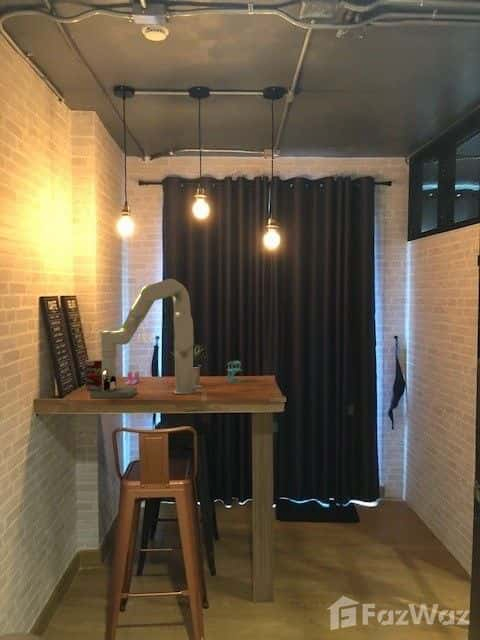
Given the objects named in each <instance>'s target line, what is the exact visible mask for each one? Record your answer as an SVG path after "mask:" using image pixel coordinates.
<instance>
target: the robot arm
mask: <svg viewBox="0 0 480 640" xmlns="http://www.w3.org/2000/svg"><path fill="white" fill-rule="evenodd" d="M169 297H171V298H172V301H173V330H174V340H173V346H174V349H173V350H174V383H175V384H174V387H175V388H174V389H172V394H174V395H175V394H176V395H190V394H195V393H196V392H197V390H202V385H200V384H196V383H195V382H194V350H193V349H194V347H193V346H194V340H195V339H194V338H195V337H194V321H193V317H192V315H191V302H190V301H191V300H190V294H189V292H188V290H187V289H186V287H185V286H184V285H183V284H182V283H181V282H179V281H177V280H176V279H173V278H167V279H165V280H161V281H157V282H155V283H150V284H147V285H144V286H143V287H142V288H141V289H140V292H139V295H138V296H137V298H136V299H135V301H134V303H133V304H132V306H131V308H130V309H129V311H128V315H127V318H125V321H124V322H123V325H122V326H121V328H120V329H119V330H115V329H114V330H113V329H112V330H111V329H109V330H107V329H106V330H102V331H101V333H100V340H101V341H100V342H101V343H100V344H101V347H100V349H101V360H102V372H101V375H102V386H103V387H104V390H109V389H110V382H109V381H115V387H117V359H116V358H117V356H118V355H117V354H118V353H117V345H123V346H124V345H128V344H129V343H130V342H131V340H132V339H133V337H134V335H135V334H136V332H137V330H138V328H139V327H140V325H141V323H142V322H143V321H144V320H145V318H146V317H147V315H148V313H149V311H150V309H151V308H152V306H153V304H154V303H155V301H159V300H161V299H165V298H169Z"/></svg>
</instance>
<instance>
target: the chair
mask: <svg viewBox="0 0 480 640" xmlns="http://www.w3.org/2000/svg"><path fill="white" fill-rule="evenodd" d="M230 365H231V367H230ZM241 365H242V362H241V361H239V360H231V361H230V362H228V363H227V366H228V368H226V369H227V370H226V371H228V372H227V379H226V381H227V382H228V383H234V382H235V383H238V382H239V383H240V382H242V383H243V382H244V379H242V378H240V377H235V378H233V377H234V376H235V374H236V373H238V372H242V370H243V369H242V368H241ZM234 366H235V367H234ZM236 379H238V380H236Z"/></svg>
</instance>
